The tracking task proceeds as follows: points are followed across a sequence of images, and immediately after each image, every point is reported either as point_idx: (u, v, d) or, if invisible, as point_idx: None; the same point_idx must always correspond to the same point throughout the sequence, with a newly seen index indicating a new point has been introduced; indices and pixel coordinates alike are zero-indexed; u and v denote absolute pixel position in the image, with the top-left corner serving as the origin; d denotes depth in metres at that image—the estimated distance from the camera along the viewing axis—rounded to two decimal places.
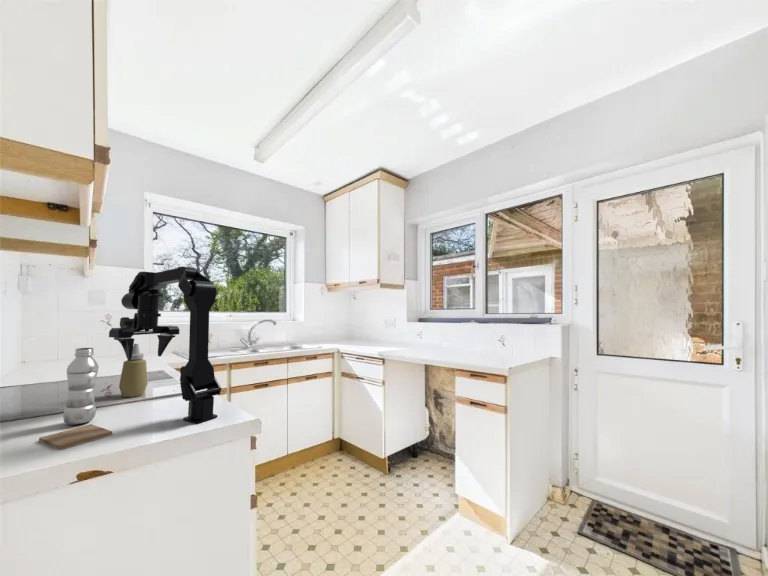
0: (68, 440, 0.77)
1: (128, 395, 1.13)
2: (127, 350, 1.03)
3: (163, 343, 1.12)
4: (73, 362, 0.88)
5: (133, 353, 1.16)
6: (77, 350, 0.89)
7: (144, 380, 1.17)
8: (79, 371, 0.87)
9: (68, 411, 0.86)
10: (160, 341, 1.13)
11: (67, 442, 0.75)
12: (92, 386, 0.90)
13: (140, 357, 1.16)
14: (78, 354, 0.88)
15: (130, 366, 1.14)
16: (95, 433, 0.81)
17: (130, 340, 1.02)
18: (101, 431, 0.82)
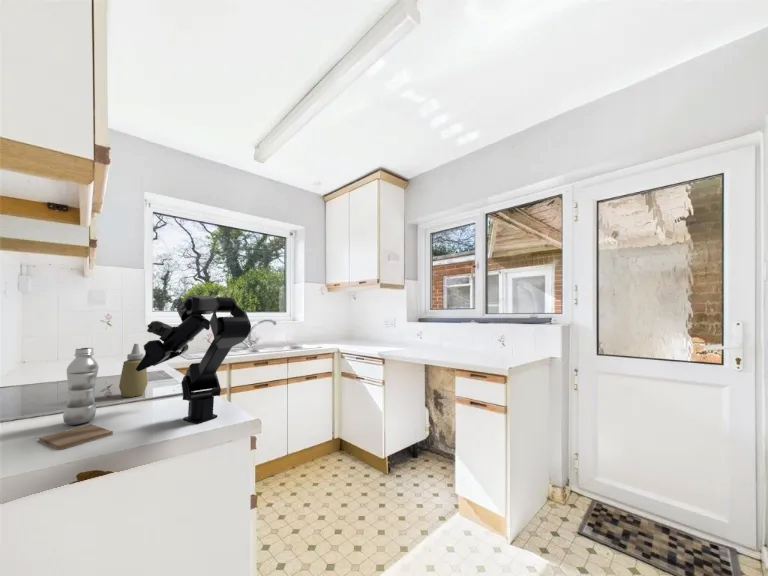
0: (68, 440, 0.77)
1: (128, 395, 1.13)
2: (146, 365, 0.95)
3: (167, 357, 1.05)
4: (73, 362, 0.88)
5: (133, 353, 1.16)
6: (77, 350, 0.89)
7: (144, 380, 1.17)
8: (79, 371, 0.87)
9: (68, 411, 0.86)
10: None
11: (67, 442, 0.75)
12: (92, 386, 0.90)
13: (140, 357, 1.16)
14: (78, 354, 0.88)
15: (130, 366, 1.14)
16: (95, 433, 0.81)
17: (160, 361, 0.95)
18: (101, 431, 0.82)
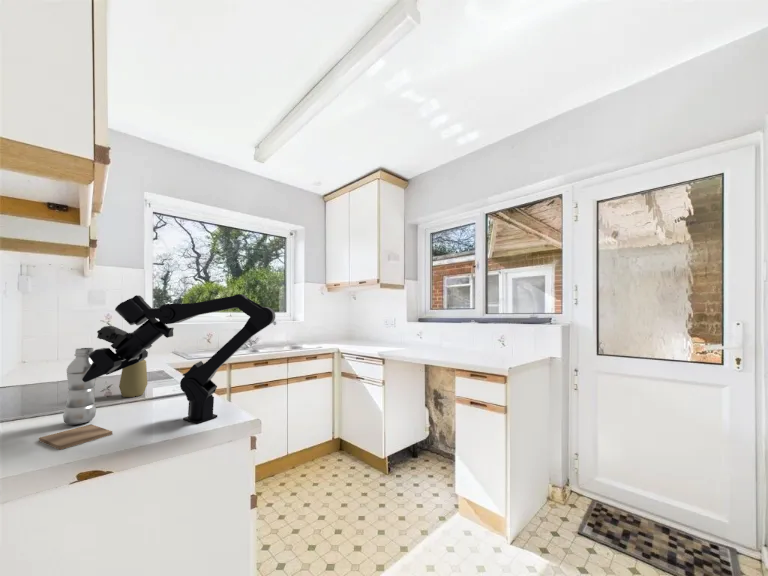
0: (68, 440, 0.77)
1: (128, 395, 1.13)
2: (94, 375, 0.86)
3: (122, 365, 0.96)
4: (73, 362, 0.88)
5: None
6: (77, 350, 0.89)
7: (144, 380, 1.17)
8: (79, 371, 0.87)
9: (68, 411, 0.86)
10: None
11: (67, 442, 0.75)
12: (92, 386, 0.90)
13: None
14: (78, 354, 0.88)
15: (130, 366, 1.14)
16: (95, 433, 0.81)
17: (109, 372, 0.86)
18: (101, 431, 0.82)
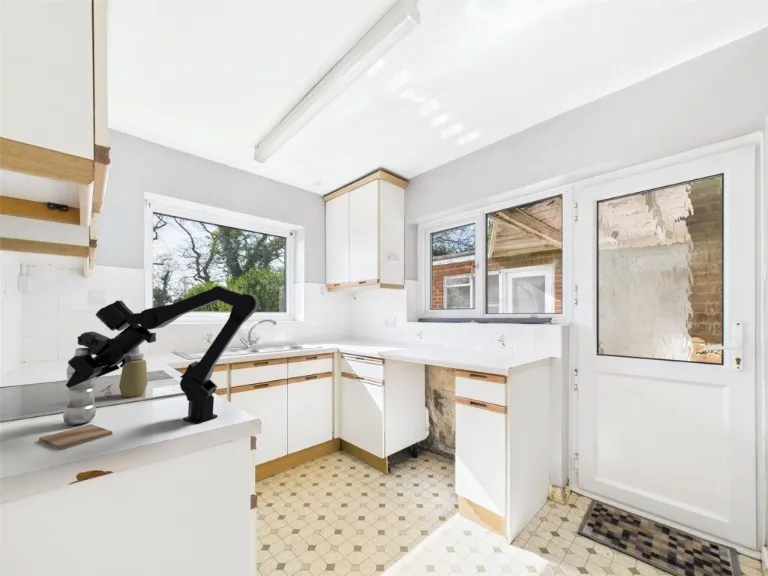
0: (68, 440, 0.77)
1: (128, 395, 1.13)
2: (77, 381, 0.86)
3: (102, 372, 0.94)
4: None
5: (133, 353, 1.16)
6: (77, 350, 0.89)
7: (144, 380, 1.17)
8: None
9: (68, 411, 0.86)
10: None
11: (67, 442, 0.75)
12: (92, 386, 0.90)
13: (140, 357, 1.16)
14: (78, 354, 0.88)
15: (130, 366, 1.14)
16: (95, 433, 0.81)
17: (93, 377, 0.86)
18: (101, 431, 0.82)
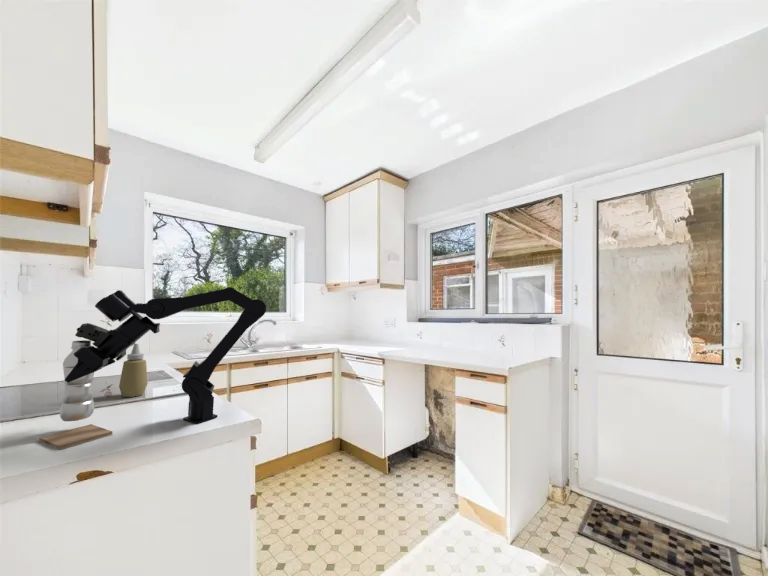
0: (68, 440, 0.77)
1: (128, 395, 1.13)
2: (79, 374, 0.82)
3: None
4: (71, 355, 0.83)
5: (133, 353, 1.16)
6: (75, 343, 0.84)
7: (144, 380, 1.17)
8: None
9: (68, 407, 0.82)
10: None
11: (67, 442, 0.75)
12: (91, 380, 0.86)
13: (140, 357, 1.16)
14: (76, 347, 0.84)
15: (130, 366, 1.14)
16: (95, 433, 0.81)
17: None
18: (101, 431, 0.82)
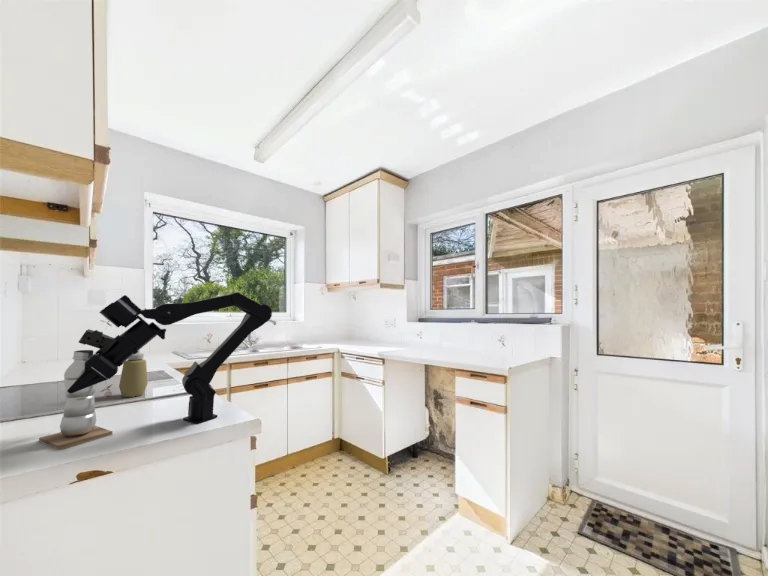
0: (68, 440, 0.77)
1: (128, 395, 1.13)
2: (85, 384, 0.77)
3: None
4: (75, 366, 0.79)
5: None
6: (78, 353, 0.79)
7: (144, 380, 1.17)
8: None
9: (72, 421, 0.78)
10: None
11: (67, 442, 0.75)
12: (94, 392, 0.82)
13: (140, 357, 1.16)
14: (80, 357, 0.79)
15: (130, 366, 1.14)
16: (95, 433, 0.81)
17: (105, 379, 0.79)
18: (101, 431, 0.82)
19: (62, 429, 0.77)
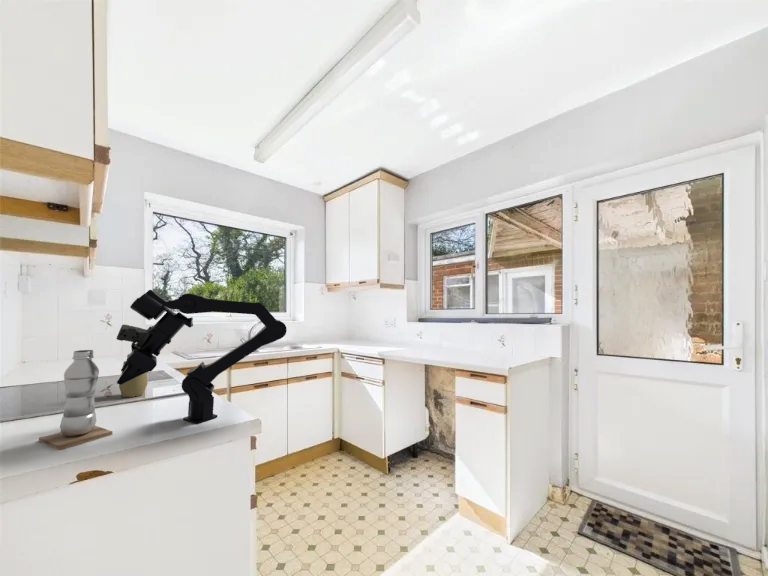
0: (68, 440, 0.77)
1: (128, 395, 1.13)
2: (131, 376, 0.85)
3: None
4: (74, 366, 0.79)
5: None
6: (78, 353, 0.79)
7: (144, 380, 1.17)
8: (85, 376, 0.79)
9: (72, 421, 0.78)
10: None
11: (67, 442, 0.75)
12: (94, 392, 0.82)
13: None
14: (80, 357, 0.79)
15: None
16: (95, 433, 0.81)
17: None
18: (101, 431, 0.82)
19: (62, 429, 0.77)
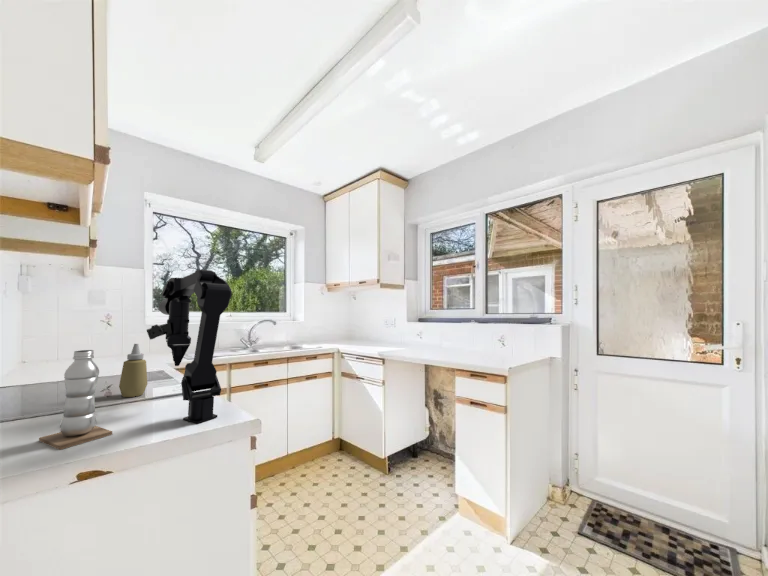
0: (68, 440, 0.77)
1: (128, 395, 1.13)
2: (181, 356, 1.05)
3: None
4: (75, 366, 0.79)
5: (133, 353, 1.16)
6: (79, 353, 0.80)
7: (144, 380, 1.17)
8: (85, 376, 0.79)
9: (72, 421, 0.78)
10: None
11: (67, 442, 0.75)
12: (94, 392, 0.82)
13: (140, 357, 1.16)
14: (80, 357, 0.80)
15: (130, 366, 1.14)
16: (95, 433, 0.81)
17: (189, 345, 1.06)
18: (101, 431, 0.82)
19: (62, 429, 0.77)
